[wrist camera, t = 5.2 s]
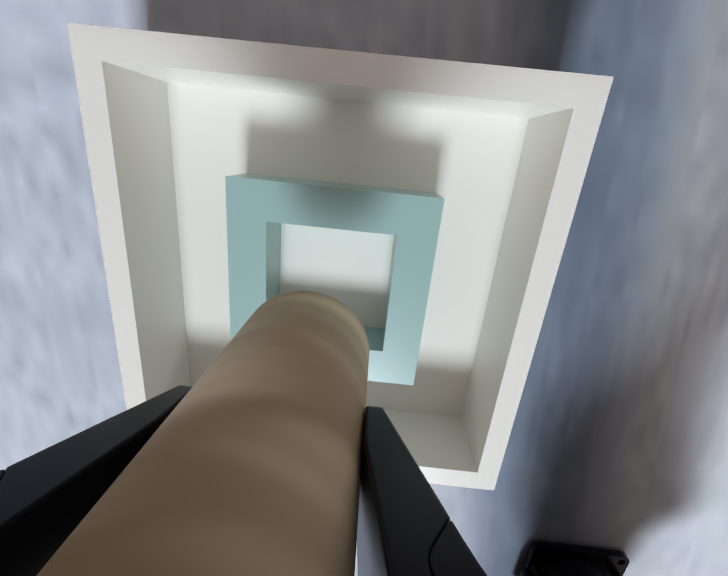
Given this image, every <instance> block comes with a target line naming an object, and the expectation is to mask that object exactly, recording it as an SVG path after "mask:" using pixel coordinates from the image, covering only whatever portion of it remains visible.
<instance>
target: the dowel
mask: <svg viewBox="0 0 728 576" xmlns="http://www.w3.org/2000/svg"><path fill="white" fill-rule="evenodd" d="M368 366H369V342H368V338H367V334H366V332H365V329H364V327H363V325H362V324H361V322H360V320H359V319H358V318H357V316H356V315H355V314H354V313H353V312H352V311H351V310H350V309H349V308H348V307H347V306H345V305H344V304H343V303H341V302H340V301H338V300H336V299H335V298H332V297H330V296H328V295H325V294H322V293H318V292H313V291H291V292H286V293H282V294H279V295H276V296H274V297H272V298H270V299H269V300H267V301H266V302H264V303H263V304H262V305H261V306H260V307H259V308H257V310H256V311H255V312H254V313H253V314H252V316H251V317H250V318H249V319H248V320H247V322H246V323H245V324H244V325H243V326H242V328H241V329H240V330H239V331H238V332H237V334H236V335H235V336H234V337H233V339H232V340H231V341H230V342H229V343H228V345H227V346H226V347H225V348H224V349H223V351H222V352H221V353H220V354H219V355H218V357H217V358H216V359H215V360H214V361H213V363H212V364H211V365H210V366H209V368H208V369H207V370H206V371H205V372H204V374H203V375H202V376H201V377H200V378H199V380H198V381H197V382H196V383H195V384H194V386H193V387H192V388H191V389H190V390H189V392H188V393H187V394H186V395H185V397H184V398H183V399H182V400H181V401H180V403H179V404H178V405H177V406H176V407H175V409H174V410H173V411H172V412H171V413H170V415H169V416H168V417H167V418H166V419H165V421H164V422H163V423H162V424H161V426H160V427H159V428H158V429H157V430H156V432H155V433H154V434H153V435H152V436H151V438H150V439H149V440H148V441H147V442H146V444H145V445H144V446H143V447H142V449H141V450H140V451H139V452H138V453H137V455H136V456H135V457H134V458H133V459H132V461H131V462H130V463H129V464H128V465H127V467H126V468H125V469H124V470H123V471H122V473H121V474H120V475H119V476H118V478H117V479H116V480H115V481H114V482H113V484H112V485H111V486H110V487H109V488H108V490H107V491H106V492H105V493H104V494H103V496H102V497H101V498H100V499H99V500H98V502H97V503H96V504H95V505H94V507H93V508H92V509H91V510H90V511H89V513H88V514H87V515H86V516H85V517H84V519H83V520H82V521H81V522H80V523H79V525H78V526H77V527H76V528H75V529H74V531H73V532H72V533H71V534H70V536H69V537H68V538H67V539H66V540H65V542H64V543H63V544H62V545H61V546H60V548H59V549H58V550H57V551H56V552H55V554H54V555H53V556H52V557H51V558H50V560H49V561H48V562H47V563H46V565H45V566H44V567H43V568H42V569H41V571H40V572H39V573H38V574H37V575H36V576H354V572H355V557H356V542H357V528H358V513H359V498H360V483H361V466H362V446H363V432H364V417H365V408H366V395H367V380H368Z"/></svg>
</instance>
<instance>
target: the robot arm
mask: <svg viewBox="0 0 728 576" xmlns="http://www.w3.org/2000/svg"><path fill="white" fill-rule="evenodd" d="M192 387H193V386H187V385H179V386H176V387H174V388H172V389H170V390H168V391H166V392H164V393H162V394H160V395H158V396H155V397H153V398H151V399H149V400H147V401H145V402H143V403H141V404H139V405H137V406H135V407H132V408H130V409H128V410H126V411H124V412H122V413H120V414H118V415H116V416H114V417H111V418H109V419H107V420H105V421H103V422H101V423H99V424H97V425H95V426H93V427H91V428H88V429H86V430H84V431H82V432H80V433H78V434H76V435H74V436H72V437H70V438H67V439H65V440H63V441H61V442H59V443H57V444H55V445H53V446H51V447H49V448H46V449H44V450H42V451H40V452H38V453H36V454H34V455H32V456H30V457H28V458H26V459H23V460H21V461H19V462H17V463H15V464H13V465H11V466H9V467H7V469H6V471H5V470H0V576H36V575H37V574H38V573H39V572H40V571H41V569H42V568H43V567H44V566H45V565H46V563H47V562H48V561H49V560H50V558H51V557H52V556H53V555H54V554H55V552H56V551H57V550H58V549H59V548H60V546H61V545H62V544H63V543H64V542H65V540H66V539H67V538H68V537H69V536H70V534H71V533H72V532H73V531H74V529H75V528H76V527H77V526H78V525H79V523H80V522H81V521H82V520H83V519H84V517H85V516H86V515H87V514H88V513H89V511H90V510H91V509H92V508H93V507H94V505H95V504H96V503H97V502H98V500H99V499H100V498H101V497H102V496H103V494H104V493H105V492H106V491H107V490H108V488H109V487H110V486H111V485H112V484H113V482H114V481H115V480H116V479H117V478H118V476H119V475H120V474H121V473H122V471H123V470H124V469H125V468H126V467H127V465H128V464H129V463H130V462H131V461H132V459H133V458H134V457H135V456H136V455H137V453H138V452H139V451H140V450H141V449H142V447H143V446H144V445H145V444H146V442H147V441H148V440H149V439H150V438H151V436H152V435H153V434H154V433H155V432H156V430H157V429H158V428H159V427H160V426H161V424H162V423H163V422H164V421H165V419H166V418H167V417H168V416H169V415H170V413H171V412H172V411H173V410H174V409H175V407H176V406H177V405H178V404H179V403H180V401H181V400H182V399H183V398H184V397H185V395H186V394H187V393H188V392H189V390H190V389H191V388H192ZM357 558H358V576H487V575H486V573H485V572H484V570H483V569H482V568H481V566H480V565H479V563H478V562H477V560H476V559H475V557H474V556H473V554H472V552H471V551H470V549H469V548H468V546H467V545H466V543H465V542H464V540H463V539H462V537H461V535H460V534H459V532H458V530H457V529H456V527H455V525H454V524H453V522H452V521H450V517H449V516H448V514H447V512H446V511H445V509H444V507H443V506H442V504H441V502H440V501H439V499H438V498H437V496H436V494H435V493H434V491H433V489H432V488H431V486H430V484H429V483H428V481H427V479H426V478H425V476H424V474H423V473H422V471H421V469H420V468H419V466H418V465H417V463H416V461H415V460H414V458H413V456H412V455H411V453H410V451H409V450H408V448H407V446H406V445H405V443H404V441H403V440H402V438H401V437H400V435H399V433H398V432H397V430H396V428H395V427H394V425H393V423H392V422H391V420H390V418H389V417H388V415H387V413H386V412H385V410H384V409H383V408H382V407H376V406H367V407H366V408H365V417H364V432H363V446H362V466H361V483H360V498H359V513H358V528H357ZM628 564H629V559H628V558H627V556H626V555H625V553H624V552H621V551H613V550H605V549H596V548H587V547H578V546H569V545H560V544H551V543H542V542H536V543H533V544H532V545H531V546H530V549H529V552H528V554H527V557H526V560H525V563H524V566H523V568H522V570H521V572H520V575H519V576H623V574H624V572H625V570H626V568H627V566H628Z"/></svg>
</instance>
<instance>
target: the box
mask: <svg viewBox="0 0 728 576" xmlns="http://www.w3.org/2000/svg"><path fill="white" fill-rule="evenodd" d="M67 25H68V32H69V38H70V45H71V51H72V58H73V64H74V71H75V77H76V84H77V90H78V97H79V103H80V110H81V116H82V123H83V129H84V136H85V142H86V149H87V155H88V162H89V168H90V175H91V181H92V188H93V194H94V201H95V207H96V214H97V220H98V227H99V233H100V240H101V246H102V253H103V259H104V266H105V272H106V279H107V285H108V292H109V298H110V305H111V311H112V318H113V324H114V331H115V337H116V344H117V350H118V357H119V363H120V370H121V376H122V383H123V389H124V396H125V403H126V409H127V410H128V409H130V408H132V407H135V406H137V405H139V404H141V403H143V402H145V401H147V400H149V399H151V398H153V397H155V396H158V395H160V394H162V393H164V392H166V391H168V390H170V389H172V388H174V387H176V386H179V385H187V386H194V384H195V383H196V382H197V381H198V380H199V378H200V377H201V376H202V375H203V374H204V372H205V371H206V370H207V369H208V368H209V366H210V365H211V364H212V363H213V361H214V360H215V359H216V358H217V357H218V355H219V354H220V353H221V352H222V351H223V349H224V348H225V347H226V346H227V345H228V343H229V342H230V341H231V340H232V339H233V337H234V336H235V335H236V334H237V332H238V331H239V330H240V329H241V328H242V326H243V325H244V324H245V323H246V322H247V320H248V319H249V318H250V317H251V316H252V314H253V313H254V312H255V311H256V310H257V308H259V307H260V306H261V305H262V304H263V303H264V302H266V301H267V300H269V299H270V298H272V297H274V296H276V295H279V294H282V293H286V292H291V291H313V292H318V293H322V294H325V295H328V296H330V297H332V298H335V299H336V300H338V301H340V302H341V303H343V304H344V305H345V306H347V307H348V308H349V309H350V310H351V311H352V312H353V313H354V314H355V315H356V316H357V318H358V319H359V320H360V322H361V324H362V325H363V327H364V329H365V332H366V334H367V338H368V342H369V366H368V380H367V395H366V407H367V406H376V407H382V408H383V409H384V410H385V412H386V413H387V415H388V417H389V418H390V420H391V422H392V423H393V425H394V427H395V428H396V430H397V432H398V433H399V435H400V437H401V438H402V440H403V441H404V443H405V445H406V446H407V448H408V450H409V451H410V453H411V455H412V456H413V458H414V460H415V461H416V463H417V465H418V466H419V468H420V469H421V471H422V473H423V474H424V476H425V478H426V479H427V481H428V483H432V484H441V485H450V486H459V487H468V488H477V489H486V490H494V488H495V485H496V481H497V478H498V474H499V471H500V468H501V464H502V461H503V457H504V454H505V450H506V447H507V443H508V440H509V436H510V433H511V430H512V426H513V423H514V419H515V416H516V412H517V409H518V405H519V402H520V398H521V395H522V392H523V388H524V385H525V381H526V378H527V374H528V371H529V367H530V364H531V361H532V357H533V354H534V350H535V347H536V343H537V340H538V336H539V333H540V329H541V326H542V323H543V319H544V316H545V312H546V309H547V305H548V302H549V298H550V295H551V291H552V288H553V285H554V281H555V278H556V274H557V271H558V267H559V264H560V260H561V257H562V253H563V250H564V247H565V243H566V240H567V236H568V233H569V229H570V226H571V222H572V219H573V215H574V212H575V209H576V205H577V202H578V198H579V195H580V191H581V188H582V184H583V181H584V178H585V174H586V171H587V167H588V164H589V160H590V157H591V153H592V150H593V146H594V143H595V140H596V136H597V133H598V129H599V126H600V122H601V119H602V115H603V112H604V108H605V105H606V102H607V98H608V95H609V91H610V88H611V84H612V81H613V77H611V76H600V75H590V74H580V73H570V72H560V71H550V70H540V69H530V68H519V67H509V66H499V65H489V64H479V63H469V62H459V61H449V60H438V59H428V58H418V57H408V56H398V55H388V54H378V53H368V52H357V51H347V50H337V49H327V48H317V47H307V46H297V45H287V44H276V43H266V42H256V41H246V40H236V39H226V38H216V37H206V36H195V35H185V34H175V33H165V32H155V31H145V30H135V29H125V28H114V27H104V26H94V25H84V24H74V23H67Z"/></svg>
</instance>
